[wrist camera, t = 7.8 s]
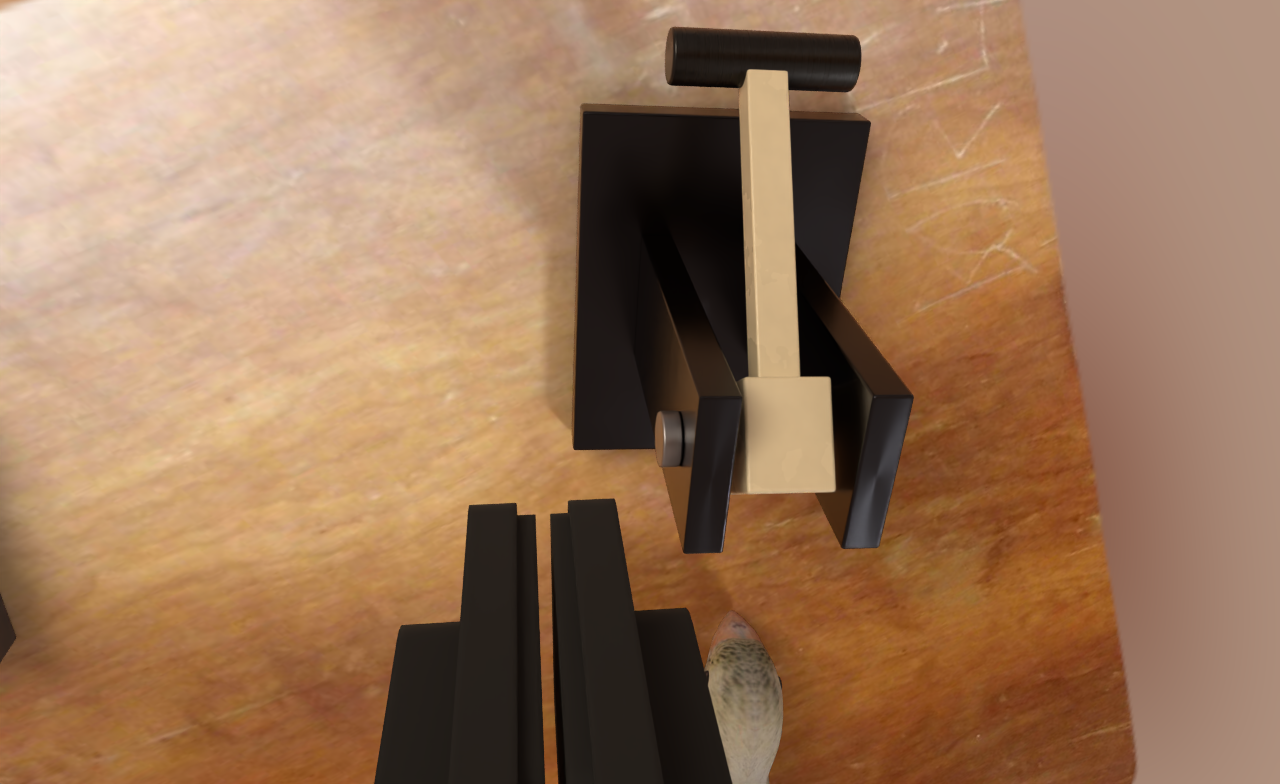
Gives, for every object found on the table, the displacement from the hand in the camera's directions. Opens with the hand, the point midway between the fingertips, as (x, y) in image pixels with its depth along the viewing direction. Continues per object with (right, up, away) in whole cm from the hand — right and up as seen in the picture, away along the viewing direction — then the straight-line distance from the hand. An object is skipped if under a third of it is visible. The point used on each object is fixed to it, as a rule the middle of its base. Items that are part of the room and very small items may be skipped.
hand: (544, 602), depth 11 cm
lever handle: (+4, +6, +14) cm, 16 cm away
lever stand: (+3, +6, +21) cm, 22 cm away
